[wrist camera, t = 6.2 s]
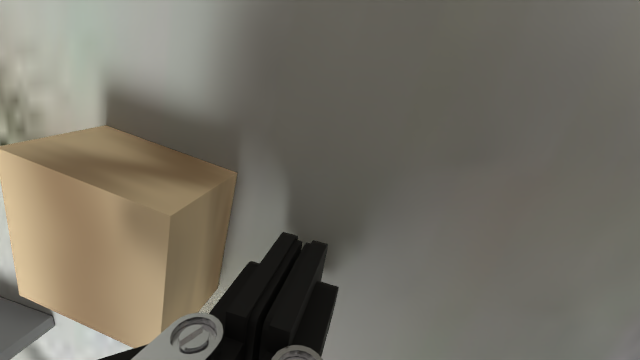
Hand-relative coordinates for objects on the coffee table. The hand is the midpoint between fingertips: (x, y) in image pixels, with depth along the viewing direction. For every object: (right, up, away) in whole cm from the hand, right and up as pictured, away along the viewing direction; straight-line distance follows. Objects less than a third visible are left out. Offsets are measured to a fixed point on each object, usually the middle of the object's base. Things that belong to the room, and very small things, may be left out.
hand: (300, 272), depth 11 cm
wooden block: (-6, +2, +3) cm, 7 cm away
